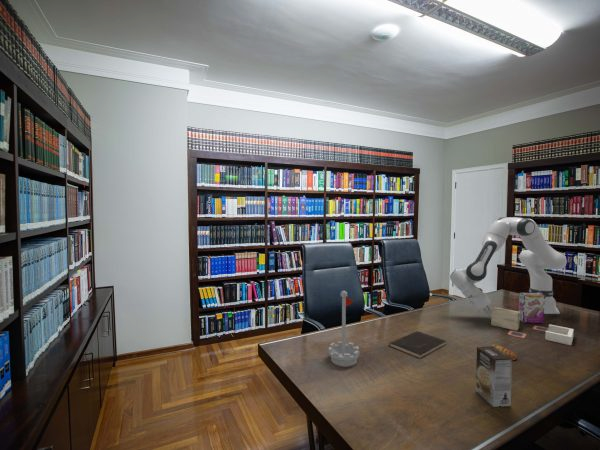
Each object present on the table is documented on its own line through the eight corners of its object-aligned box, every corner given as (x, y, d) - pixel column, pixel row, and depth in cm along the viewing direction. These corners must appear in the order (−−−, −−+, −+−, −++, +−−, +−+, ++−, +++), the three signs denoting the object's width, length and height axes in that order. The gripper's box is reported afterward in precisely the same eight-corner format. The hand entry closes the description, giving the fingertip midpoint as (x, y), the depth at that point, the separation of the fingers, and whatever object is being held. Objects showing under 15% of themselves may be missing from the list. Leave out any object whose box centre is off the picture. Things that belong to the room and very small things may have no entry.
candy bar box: (523, 322, 172) (524, 294, 171) (518, 319, 177) (518, 292, 176) (544, 323, 171) (545, 295, 170) (538, 320, 176) (539, 292, 175)
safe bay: (548, 331, 159) (549, 324, 159) (573, 336, 152) (573, 329, 152) (545, 339, 149) (545, 331, 149) (571, 345, 142) (571, 337, 142)
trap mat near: (510, 330, 160) (510, 330, 160) (526, 334, 155) (526, 334, 155) (507, 334, 155) (507, 334, 155) (524, 338, 150) (524, 337, 150)
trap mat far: (534, 325, 167) (534, 325, 167) (550, 329, 162) (550, 328, 162) (532, 329, 162) (532, 328, 162) (549, 332, 158) (549, 332, 158)
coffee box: (474, 390, 106) (475, 346, 105) (491, 390, 106) (492, 345, 106) (493, 407, 97) (494, 358, 96) (512, 406, 97) (513, 357, 97)
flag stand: (340, 370, 120) (340, 296, 119) (322, 357, 131) (322, 289, 130) (365, 363, 126) (366, 292, 125) (347, 350, 137) (347, 285, 136)
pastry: (519, 358, 130) (519, 349, 130) (512, 362, 126) (513, 354, 126) (495, 350, 138) (495, 342, 138) (488, 354, 134) (488, 346, 134)
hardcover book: (446, 345, 144) (446, 340, 144) (420, 359, 130) (420, 354, 130) (415, 334, 156) (415, 330, 156) (389, 346, 142) (389, 342, 142)
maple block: (493, 322, 173) (494, 306, 173) (519, 327, 165) (519, 311, 164) (491, 325, 169) (491, 309, 169) (517, 330, 160) (517, 314, 160)
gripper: (471, 294, 169) (491, 315, 162) (481, 287, 183) (500, 307, 177) (462, 300, 172) (481, 321, 166) (473, 293, 187) (491, 312, 180)
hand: (491, 314), depth 171 cm, fingers closed
